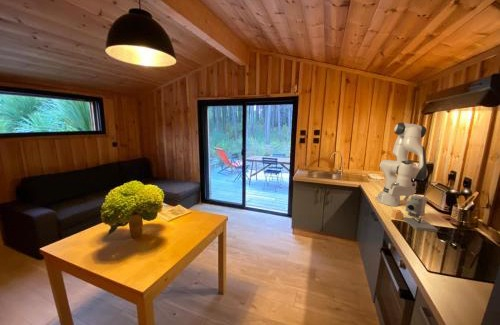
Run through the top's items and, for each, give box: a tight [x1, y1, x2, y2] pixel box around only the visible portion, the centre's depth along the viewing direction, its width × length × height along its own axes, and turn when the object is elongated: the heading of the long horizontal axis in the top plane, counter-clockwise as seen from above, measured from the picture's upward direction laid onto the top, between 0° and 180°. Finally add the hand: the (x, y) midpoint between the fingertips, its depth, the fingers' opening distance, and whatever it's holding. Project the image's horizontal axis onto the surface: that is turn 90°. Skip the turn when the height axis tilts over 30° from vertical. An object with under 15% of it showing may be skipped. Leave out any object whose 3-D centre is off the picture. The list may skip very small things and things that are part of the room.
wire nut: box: [391, 209, 404, 221], centre depth 165 cm, size 5×5×6 cm
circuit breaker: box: [405, 194, 428, 219], centre depth 169 cm, size 8×14×15 cm, turn 117°
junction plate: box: [402, 216, 439, 233], centre depth 153 cm, size 16×13×7 cm
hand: (399, 201), depth 162 cm, fingers open, 8 cm apart
